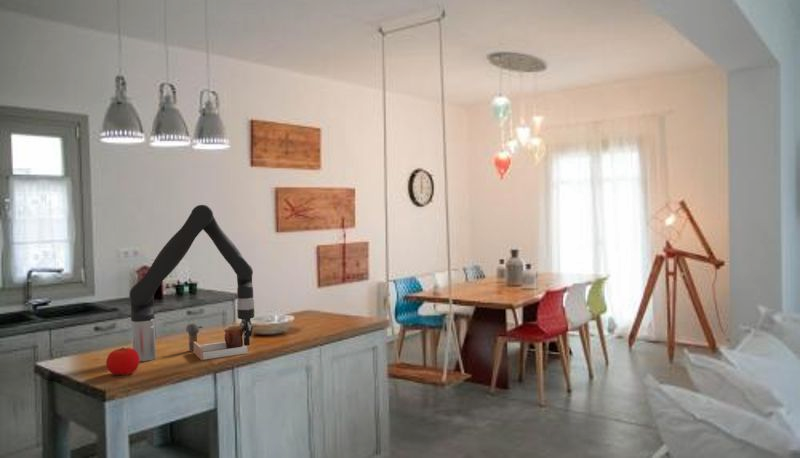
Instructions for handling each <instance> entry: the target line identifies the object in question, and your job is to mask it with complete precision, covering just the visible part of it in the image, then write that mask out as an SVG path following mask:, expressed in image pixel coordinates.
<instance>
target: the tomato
mask: <svg viewBox="0 0 800 458" xmlns="http://www.w3.org/2000/svg"><path fill="white" fill-rule="evenodd" d="M140 362H141V361H140V358H139V355H138V353H137V351H136V350H134V349H132V348H131V347H127V348H125V347H122V348H118V349H114V350H113V351H111V352H110V353H109V354H108V355H107V358H106V362H105V364H106V368H107V370H108V371H109V372H110V373H111V374H113V375H117V376H126V375H125V374H127V375H130V373H131V374H132V373H135V372H136V370H137V369H138V368H139V365H140Z"/></svg>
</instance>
